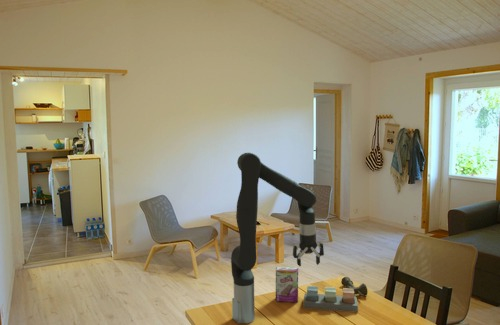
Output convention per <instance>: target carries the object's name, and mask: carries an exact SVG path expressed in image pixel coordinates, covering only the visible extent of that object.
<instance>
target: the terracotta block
mask: <svg viewBox="0 0 500 325" xmlns="http://www.w3.org/2000/svg"><path fill="white" fill-rule="evenodd" d="M342 296H343V303H354V296H355V295H354V289H351V288H346V287H343V288H342Z"/></svg>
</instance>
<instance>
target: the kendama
mask: <svg viewBox="0 0 500 325" xmlns="http://www.w3.org/2000/svg"><path fill="white" fill-rule="evenodd" d="M341 285H342V286H344V287H345V288H351V289H354V296H355V295H359V296H362V297H363V296H367V295H368V287H367V285H366V284H365V283H361V284H360V285H359V286H357V287H356V286H355V285H354V282H353V280H351V278H350V277H349V276H345V277H342V278H341Z"/></svg>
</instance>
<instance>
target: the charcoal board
mask: <svg viewBox="0 0 500 325" xmlns="http://www.w3.org/2000/svg"><path fill="white" fill-rule="evenodd" d="M303 297H304V298H303V309H312V310H324V311H326V310H327V311H337V312H352V313H358V312H359V305H358V299H357V296H355V295H354V303H343V295H337V294H336V302H328V301H325V295H324V293H322V294H321V293H318V301H313V300H307V292H306V293H305V292H304V296H303Z"/></svg>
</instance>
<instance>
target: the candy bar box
mask: <svg viewBox="0 0 500 325" xmlns="http://www.w3.org/2000/svg"><path fill="white" fill-rule="evenodd" d="M275 302H277V303H278V302H279V303H299V267H292V266H289V267H288V266H276V267H275Z"/></svg>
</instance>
